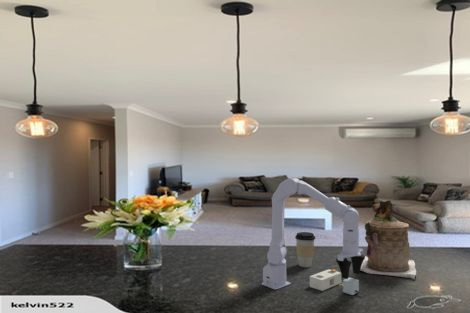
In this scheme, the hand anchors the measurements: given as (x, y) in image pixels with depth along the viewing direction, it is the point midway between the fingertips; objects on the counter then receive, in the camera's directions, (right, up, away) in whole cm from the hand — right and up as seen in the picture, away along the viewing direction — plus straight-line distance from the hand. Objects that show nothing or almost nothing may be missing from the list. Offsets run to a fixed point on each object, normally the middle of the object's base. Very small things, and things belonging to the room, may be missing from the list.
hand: (350, 275), depth 139 cm
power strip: (-5, -6, +10) cm, 13 cm away
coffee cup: (-11, -6, +34) cm, 36 cm away
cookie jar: (+26, -6, +29) cm, 39 cm away
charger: (0, -7, 0) cm, 7 cm away
